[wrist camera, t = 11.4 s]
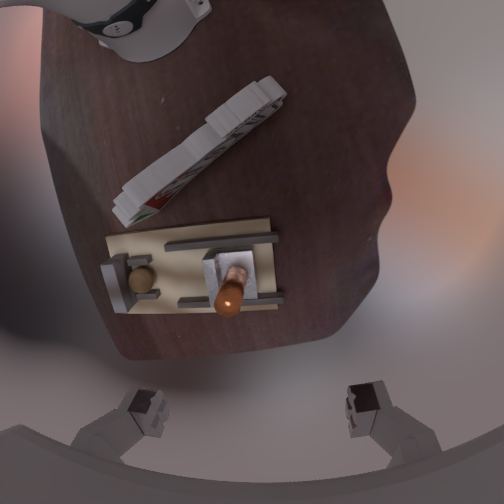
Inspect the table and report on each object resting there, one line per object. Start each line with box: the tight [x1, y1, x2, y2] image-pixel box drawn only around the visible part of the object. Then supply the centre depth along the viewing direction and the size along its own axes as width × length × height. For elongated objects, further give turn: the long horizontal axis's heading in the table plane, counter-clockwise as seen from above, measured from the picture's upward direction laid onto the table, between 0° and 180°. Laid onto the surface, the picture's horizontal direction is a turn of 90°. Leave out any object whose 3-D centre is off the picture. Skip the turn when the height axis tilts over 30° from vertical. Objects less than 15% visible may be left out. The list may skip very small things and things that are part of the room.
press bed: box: [100, 217, 284, 314], centre depth 41 cm, size 14×27×6 cm, turn 97°
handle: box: [202, 245, 259, 318], centre depth 36 cm, size 7×6×10 cm
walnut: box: [129, 267, 154, 294], centre depth 41 cm, size 4×4×4 cm
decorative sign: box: [112, 76, 287, 228], centre depth 32 cm, size 23×3×15 cm, turn 129°
